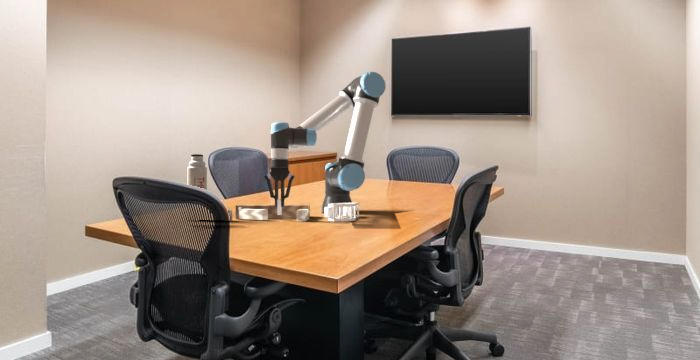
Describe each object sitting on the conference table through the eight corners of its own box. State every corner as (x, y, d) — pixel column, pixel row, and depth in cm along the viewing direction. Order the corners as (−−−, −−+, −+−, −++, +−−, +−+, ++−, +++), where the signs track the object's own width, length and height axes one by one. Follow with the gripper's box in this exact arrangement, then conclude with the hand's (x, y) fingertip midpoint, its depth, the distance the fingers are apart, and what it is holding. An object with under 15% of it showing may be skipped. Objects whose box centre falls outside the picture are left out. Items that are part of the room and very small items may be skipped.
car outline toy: (350, 218, 233) (350, 202, 233) (368, 219, 226) (368, 202, 226) (318, 220, 218) (318, 203, 218) (337, 222, 211) (337, 204, 211)
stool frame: (309, 218, 230) (309, 204, 230) (305, 221, 210) (305, 207, 210) (231, 218, 231) (231, 204, 231) (219, 221, 211) (219, 207, 211)
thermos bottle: (207, 220, 214) (208, 154, 214) (187, 221, 211) (188, 153, 211) (205, 219, 222) (205, 154, 222) (186, 220, 219) (186, 154, 219)
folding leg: (267, 220, 217) (267, 207, 217) (262, 220, 214) (262, 208, 214) (242, 218, 224) (242, 206, 224) (236, 219, 221) (236, 207, 221)
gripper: (296, 159, 221) (296, 214, 221) (266, 159, 221) (265, 214, 221) (293, 158, 213) (293, 215, 213) (262, 158, 213) (262, 215, 213)
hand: (279, 214), depth 217 cm, fingers closed
